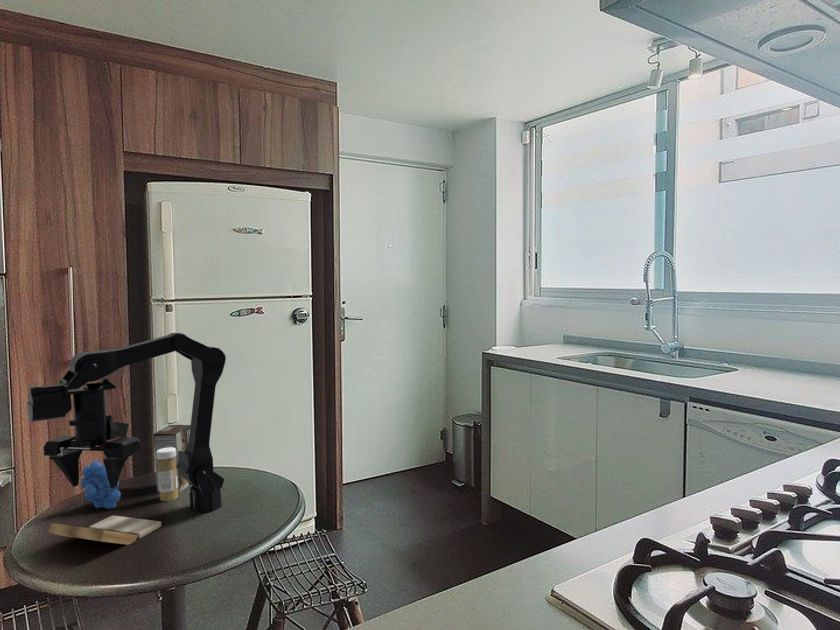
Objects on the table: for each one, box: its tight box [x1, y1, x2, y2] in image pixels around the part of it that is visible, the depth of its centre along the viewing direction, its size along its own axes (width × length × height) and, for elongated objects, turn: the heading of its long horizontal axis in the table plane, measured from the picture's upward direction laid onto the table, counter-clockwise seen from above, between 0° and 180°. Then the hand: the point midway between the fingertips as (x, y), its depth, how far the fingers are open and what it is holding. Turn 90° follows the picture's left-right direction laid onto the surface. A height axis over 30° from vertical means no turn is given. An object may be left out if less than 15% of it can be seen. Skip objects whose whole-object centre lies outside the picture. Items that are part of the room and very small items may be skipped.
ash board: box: [88, 515, 162, 539], centre depth 120 cm, size 14×6×2 cm, turn 72°
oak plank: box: [47, 522, 138, 546], centre depth 112 cm, size 14×9×2 cm, turn 72°
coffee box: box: [152, 424, 191, 494], centre depth 147 cm, size 9×6×16 cm
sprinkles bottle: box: [156, 447, 179, 502], centre depth 137 cm, size 5×5×13 cm
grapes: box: [80, 460, 122, 510], centre depth 132 cm, size 12×7×12 cm, turn 71°
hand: (94, 486), depth 113 cm, fingers open, 9 cm apart
